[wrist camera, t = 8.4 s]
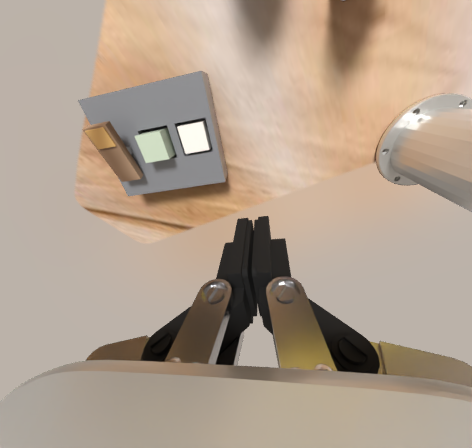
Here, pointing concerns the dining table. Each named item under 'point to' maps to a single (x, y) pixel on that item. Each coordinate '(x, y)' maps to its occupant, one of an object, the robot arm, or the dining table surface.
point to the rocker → (113, 150)
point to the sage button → (156, 145)
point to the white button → (195, 136)
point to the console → (159, 117)
